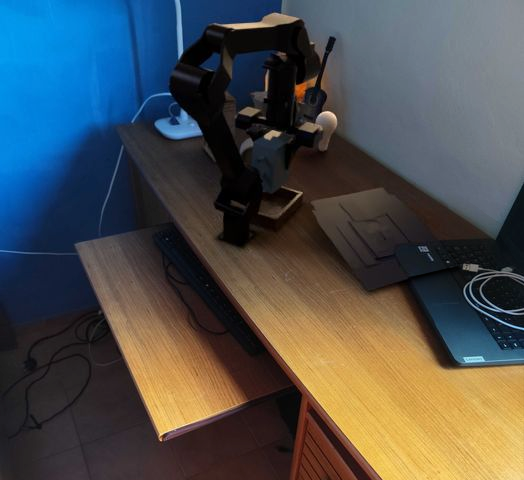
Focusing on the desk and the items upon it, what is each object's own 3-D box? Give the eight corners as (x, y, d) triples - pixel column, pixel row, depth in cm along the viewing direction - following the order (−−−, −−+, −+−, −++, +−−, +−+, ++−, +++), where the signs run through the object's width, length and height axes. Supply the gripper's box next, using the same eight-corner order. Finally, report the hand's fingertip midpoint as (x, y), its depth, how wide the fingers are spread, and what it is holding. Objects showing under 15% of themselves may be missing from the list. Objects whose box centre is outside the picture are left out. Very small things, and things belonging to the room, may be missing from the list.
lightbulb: (310, 153, 136) (314, 114, 128) (314, 145, 140) (319, 106, 132) (330, 157, 135) (336, 117, 127) (334, 148, 139) (340, 110, 131)
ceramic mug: (265, 161, 131) (266, 133, 126) (266, 175, 126) (268, 147, 120) (228, 161, 131) (227, 133, 125) (227, 175, 125) (226, 146, 120)
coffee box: (203, 149, 135) (200, 88, 123) (224, 146, 137) (223, 86, 125) (214, 163, 129) (213, 101, 118) (236, 159, 131) (236, 98, 120)
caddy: (275, 231, 108) (276, 219, 106) (241, 219, 110) (241, 208, 108) (302, 203, 117) (303, 192, 115) (269, 193, 119) (270, 182, 117)
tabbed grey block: (291, 178, 109) (296, 135, 101) (267, 197, 102) (270, 153, 95) (271, 171, 111) (274, 128, 103) (246, 189, 104) (248, 145, 97)
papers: (385, 195, 119) (389, 183, 116) (456, 275, 103) (463, 262, 100) (300, 212, 111) (303, 199, 108) (363, 300, 96) (368, 288, 93)
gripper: (338, 89, 96) (327, 162, 107) (259, 71, 101) (256, 143, 113) (317, 105, 89) (307, 182, 100) (233, 85, 94) (233, 160, 106)
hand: (275, 165), depth 105 cm, fingers closed on tabbed grey block, 6 cm apart
